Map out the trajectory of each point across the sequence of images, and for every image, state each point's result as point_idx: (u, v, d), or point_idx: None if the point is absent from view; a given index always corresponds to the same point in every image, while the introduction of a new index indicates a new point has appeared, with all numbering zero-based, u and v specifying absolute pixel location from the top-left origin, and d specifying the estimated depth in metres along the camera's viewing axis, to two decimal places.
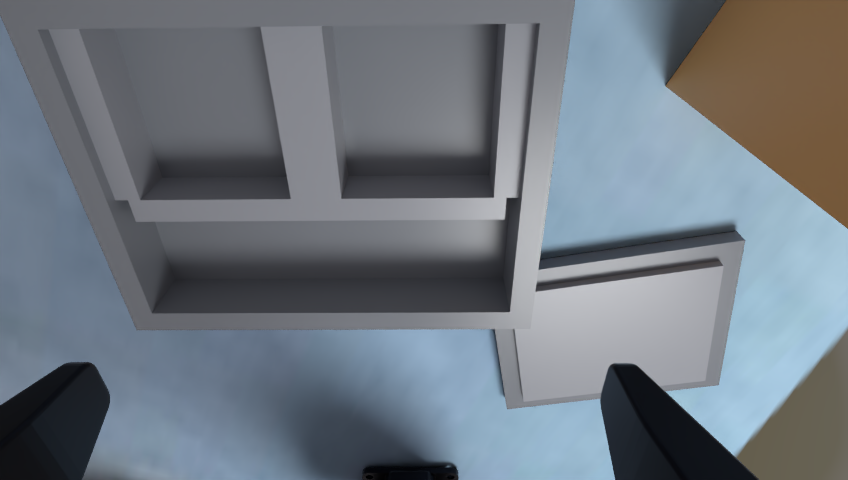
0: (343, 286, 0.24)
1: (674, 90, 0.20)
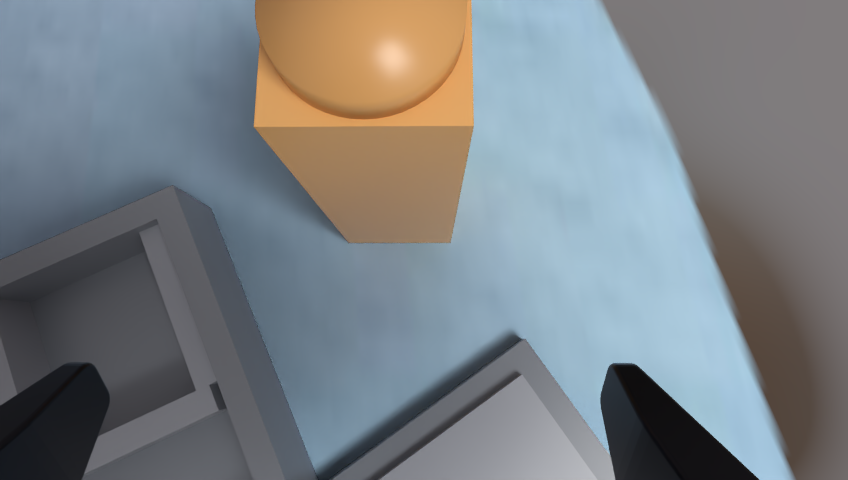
0: None
1: None
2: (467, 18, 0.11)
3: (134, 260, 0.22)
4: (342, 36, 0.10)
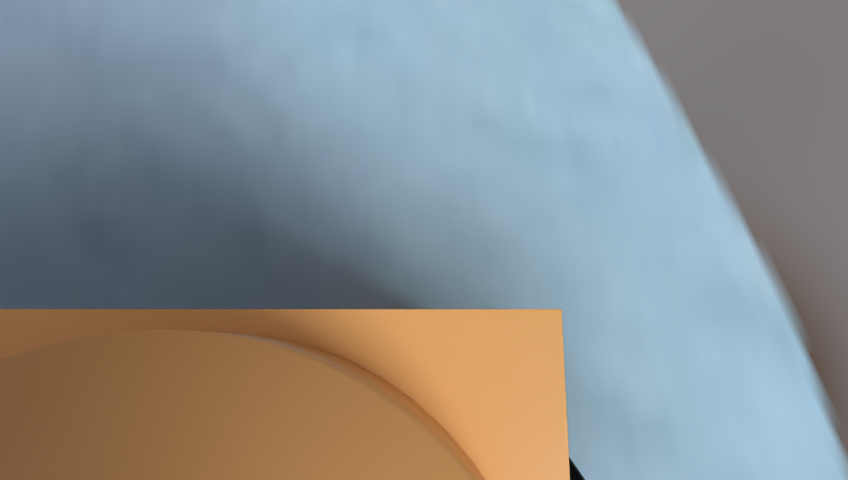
0: None
1: None
2: None
3: None
4: None
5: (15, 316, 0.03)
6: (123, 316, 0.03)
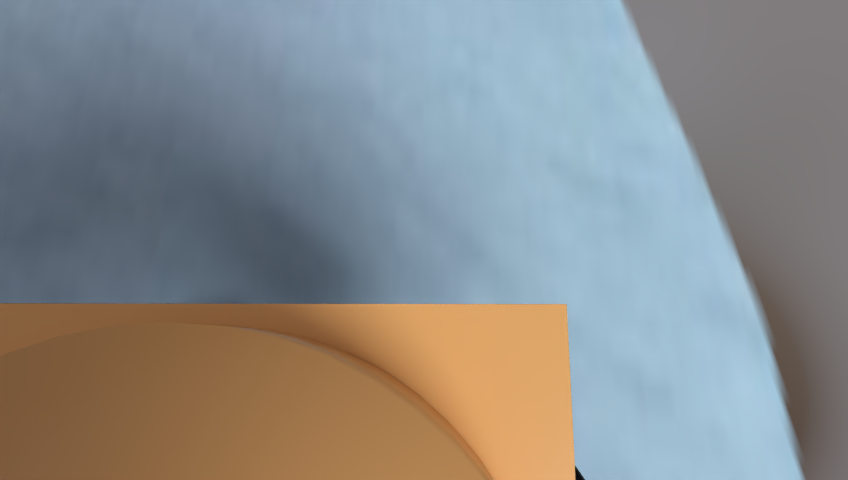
0: None
1: None
2: None
3: None
4: None
5: (22, 310, 0.03)
6: (129, 310, 0.03)
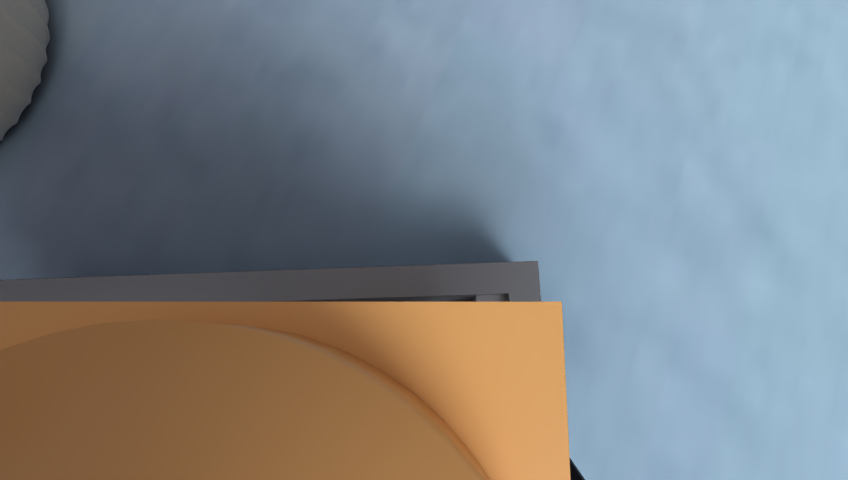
0: None
1: None
2: None
3: None
4: None
5: (14, 308, 0.03)
6: (122, 308, 0.03)
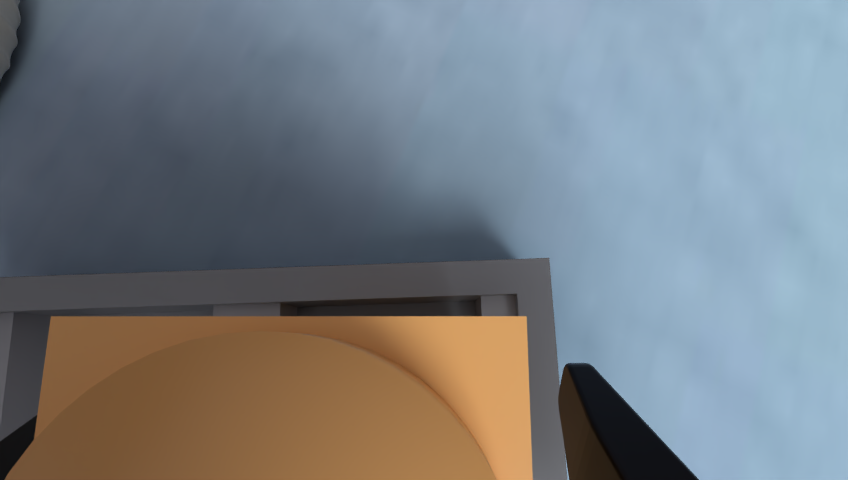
0: None
1: None
2: None
3: (432, 308, 0.17)
4: None
5: (141, 321, 0.05)
6: (217, 321, 0.05)
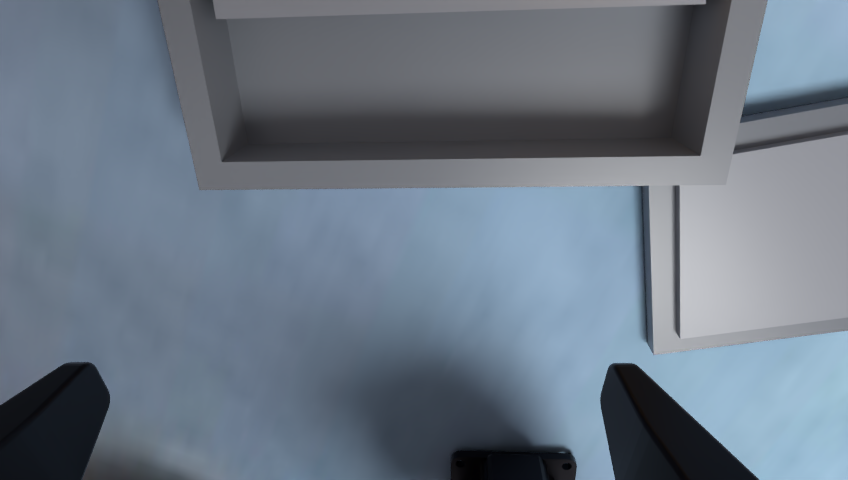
0: (463, 145, 0.19)
1: None
2: None
3: None
4: None
5: None
6: None
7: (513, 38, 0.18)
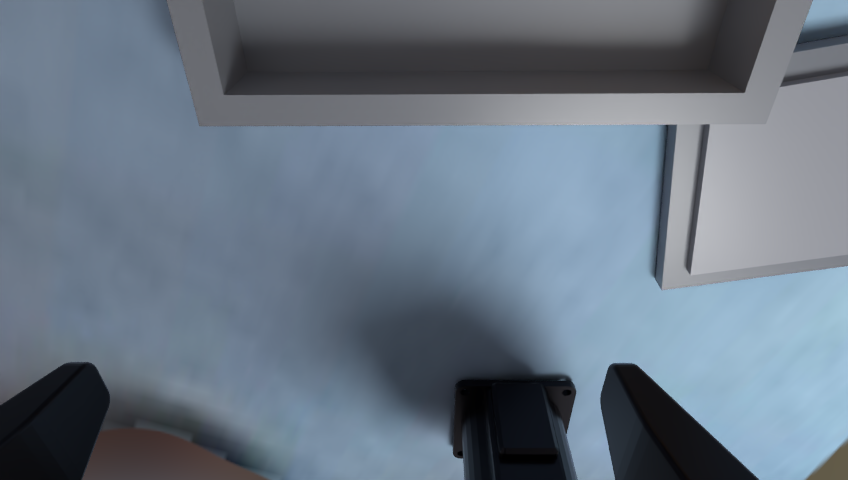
0: (487, 76, 0.17)
1: None
2: None
3: None
4: None
5: None
6: None
7: None
